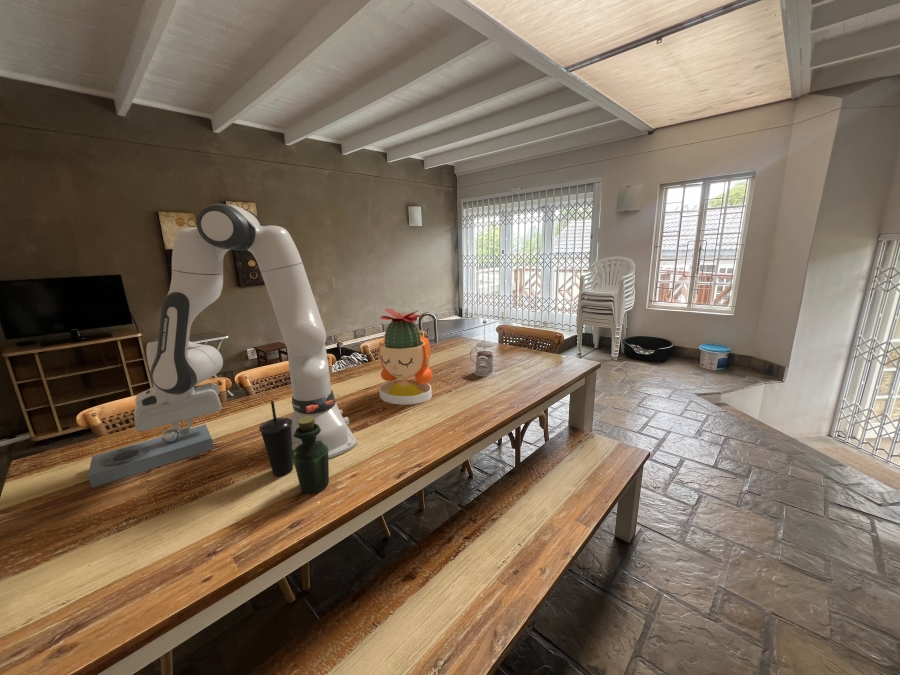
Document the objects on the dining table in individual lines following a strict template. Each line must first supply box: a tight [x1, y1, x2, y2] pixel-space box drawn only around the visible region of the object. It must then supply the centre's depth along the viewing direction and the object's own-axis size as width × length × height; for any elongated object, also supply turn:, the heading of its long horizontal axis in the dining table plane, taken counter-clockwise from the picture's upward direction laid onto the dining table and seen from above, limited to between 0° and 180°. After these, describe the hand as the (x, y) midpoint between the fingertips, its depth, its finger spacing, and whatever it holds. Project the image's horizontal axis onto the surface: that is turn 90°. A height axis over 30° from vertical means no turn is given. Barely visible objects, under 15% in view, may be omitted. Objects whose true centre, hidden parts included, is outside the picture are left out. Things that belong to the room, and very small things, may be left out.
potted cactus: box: [377, 308, 434, 406], centre depth 138 cm, size 22×22×35 cm
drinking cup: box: [258, 400, 294, 477], centre depth 90 cm, size 8×8×20 cm
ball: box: [160, 428, 179, 443], centre depth 102 cm, size 4×4×4 cm
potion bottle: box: [292, 416, 330, 495], centre depth 84 cm, size 8×8×18 cm
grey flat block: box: [87, 423, 215, 489], centre depth 100 cm, size 26×12×4 cm, turn 131°
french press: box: [469, 320, 496, 377], centre depth 160 cm, size 10×12×25 cm
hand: (185, 433), depth 104 cm, fingers closed
